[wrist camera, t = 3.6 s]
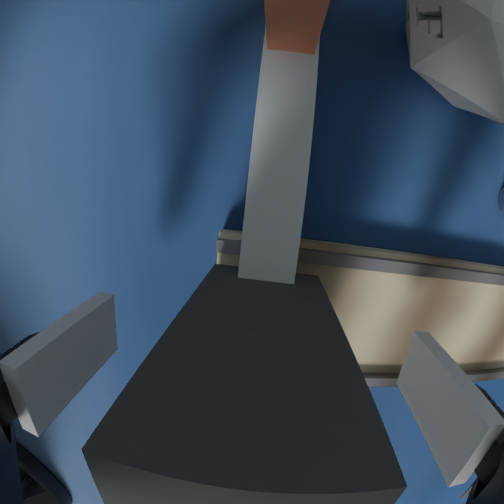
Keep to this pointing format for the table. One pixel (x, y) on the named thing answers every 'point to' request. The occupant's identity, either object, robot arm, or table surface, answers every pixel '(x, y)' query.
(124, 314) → the table surface
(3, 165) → the table surface
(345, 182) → the table surface
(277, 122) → the rod
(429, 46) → the die
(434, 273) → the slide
